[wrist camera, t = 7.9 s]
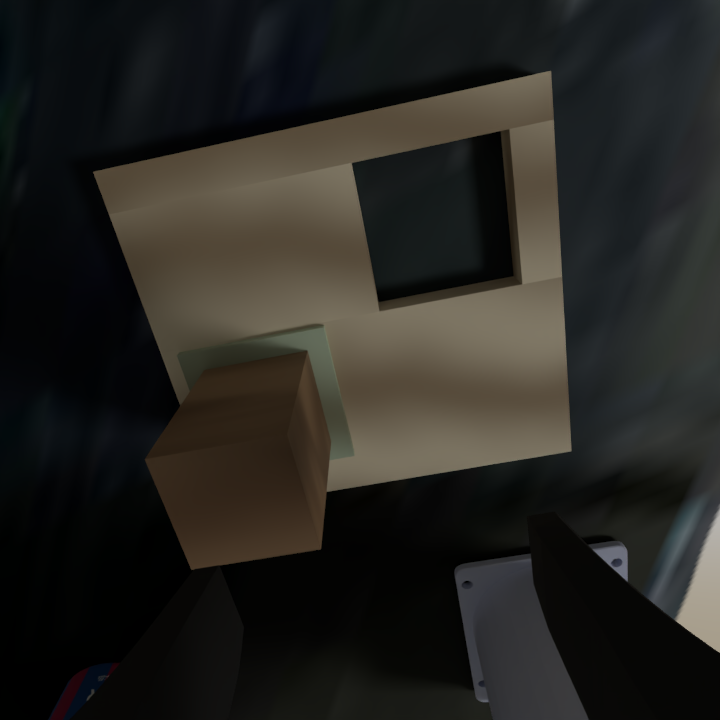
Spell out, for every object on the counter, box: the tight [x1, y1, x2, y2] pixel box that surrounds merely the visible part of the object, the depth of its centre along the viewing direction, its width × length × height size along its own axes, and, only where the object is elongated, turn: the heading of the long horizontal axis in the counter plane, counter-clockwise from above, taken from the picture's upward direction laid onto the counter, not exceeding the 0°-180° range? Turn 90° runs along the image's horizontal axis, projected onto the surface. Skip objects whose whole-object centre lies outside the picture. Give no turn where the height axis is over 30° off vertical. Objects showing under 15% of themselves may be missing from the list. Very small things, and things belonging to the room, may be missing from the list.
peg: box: [145, 350, 331, 570], centre depth 18 cm, size 4×4×6 cm
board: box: [93, 71, 571, 492], centre depth 20 cm, size 14×15×2 cm
